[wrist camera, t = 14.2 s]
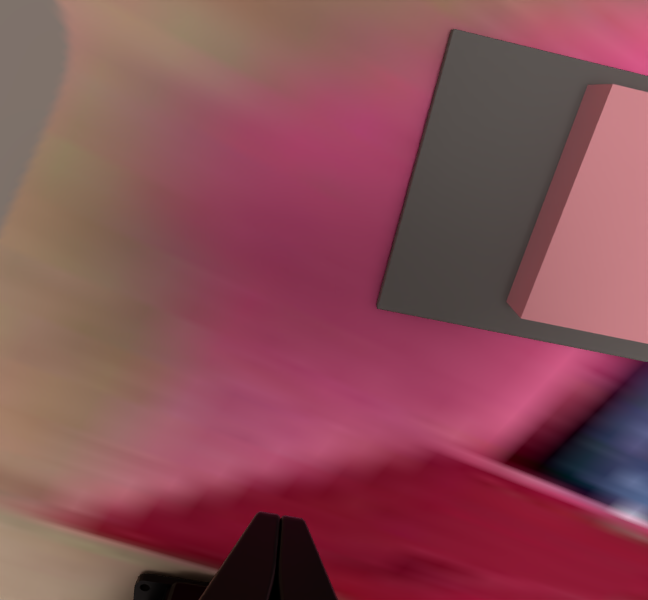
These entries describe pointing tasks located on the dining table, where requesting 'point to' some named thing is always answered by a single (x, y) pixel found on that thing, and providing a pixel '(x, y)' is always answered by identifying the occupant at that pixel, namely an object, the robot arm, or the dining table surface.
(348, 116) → the dining table surface
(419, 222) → the mat
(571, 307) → the pink rectangular block
